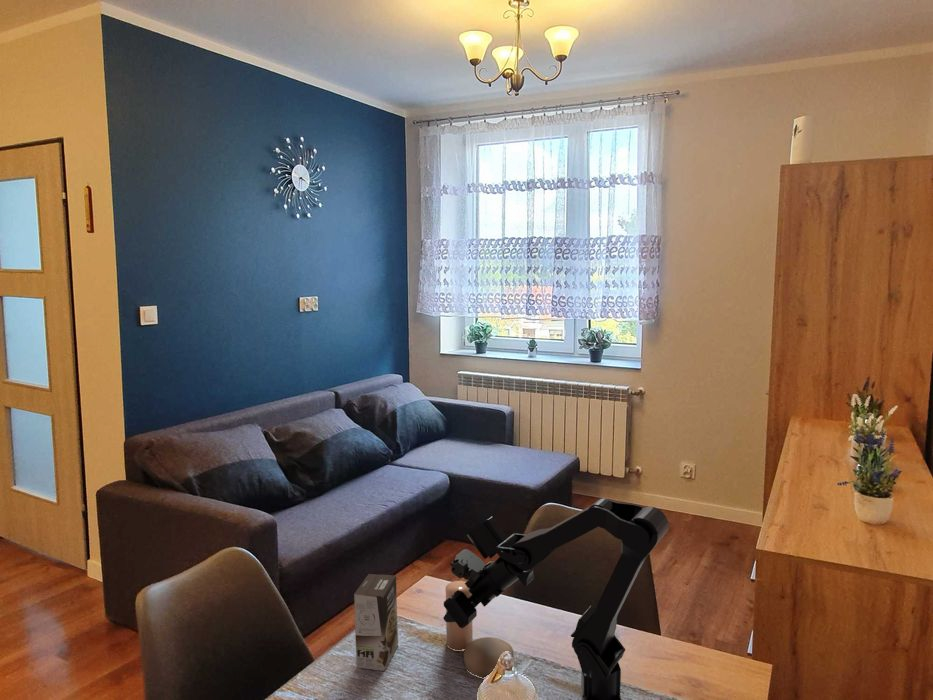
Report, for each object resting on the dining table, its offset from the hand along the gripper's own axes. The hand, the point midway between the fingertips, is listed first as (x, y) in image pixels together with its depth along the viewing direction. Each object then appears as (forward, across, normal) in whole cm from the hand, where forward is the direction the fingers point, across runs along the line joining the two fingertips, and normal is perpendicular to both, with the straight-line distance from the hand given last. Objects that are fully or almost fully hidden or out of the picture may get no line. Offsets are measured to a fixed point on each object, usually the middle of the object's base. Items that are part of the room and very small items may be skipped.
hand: (453, 611), depth 141 cm
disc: (-2, +3, +12) cm, 13 cm away
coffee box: (+13, +12, -3) cm, 18 cm away
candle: (+4, 0, +6) cm, 7 cm away
